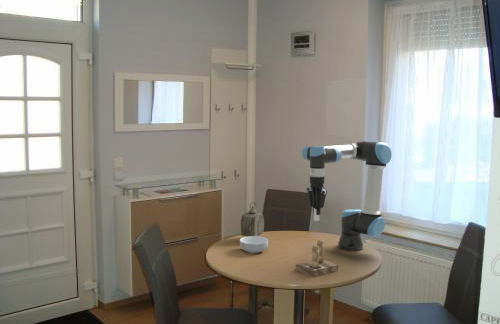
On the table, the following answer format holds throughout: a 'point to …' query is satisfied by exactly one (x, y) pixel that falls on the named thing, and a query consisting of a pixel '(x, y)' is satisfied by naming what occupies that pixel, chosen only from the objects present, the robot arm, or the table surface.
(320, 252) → the wooden base block
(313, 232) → the table surface
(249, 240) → the cereal bowl
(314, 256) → the leg peg
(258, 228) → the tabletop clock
